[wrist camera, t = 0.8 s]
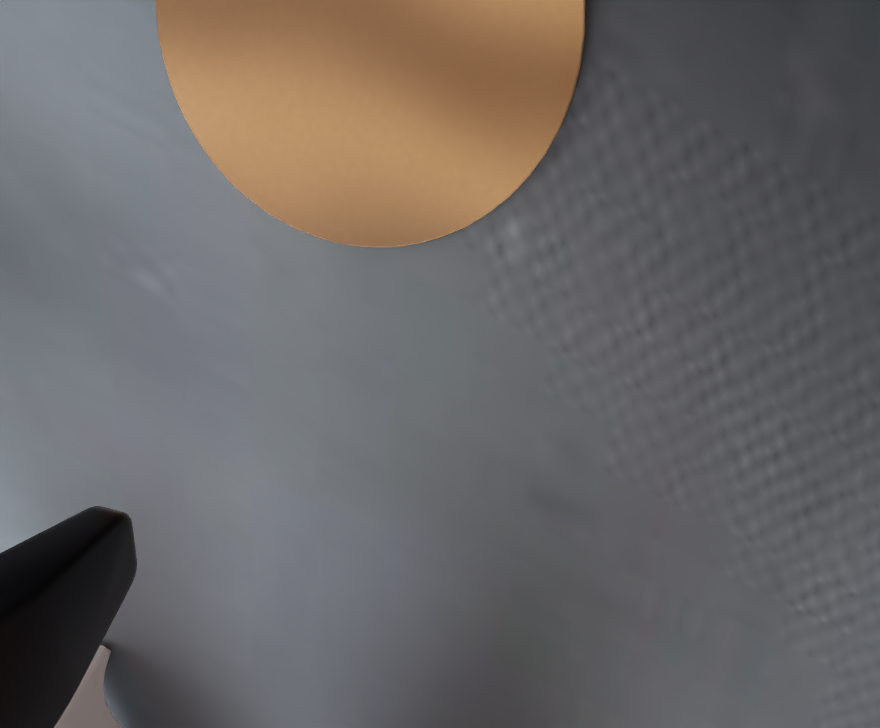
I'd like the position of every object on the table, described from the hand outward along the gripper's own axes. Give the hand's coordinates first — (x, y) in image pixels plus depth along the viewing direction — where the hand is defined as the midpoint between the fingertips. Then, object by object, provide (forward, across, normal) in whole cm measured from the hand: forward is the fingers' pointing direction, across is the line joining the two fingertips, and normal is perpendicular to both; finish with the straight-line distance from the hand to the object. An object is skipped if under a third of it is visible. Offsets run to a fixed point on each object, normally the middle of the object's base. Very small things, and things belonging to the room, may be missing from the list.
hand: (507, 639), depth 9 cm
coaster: (+15, +7, -3) cm, 17 cm away
